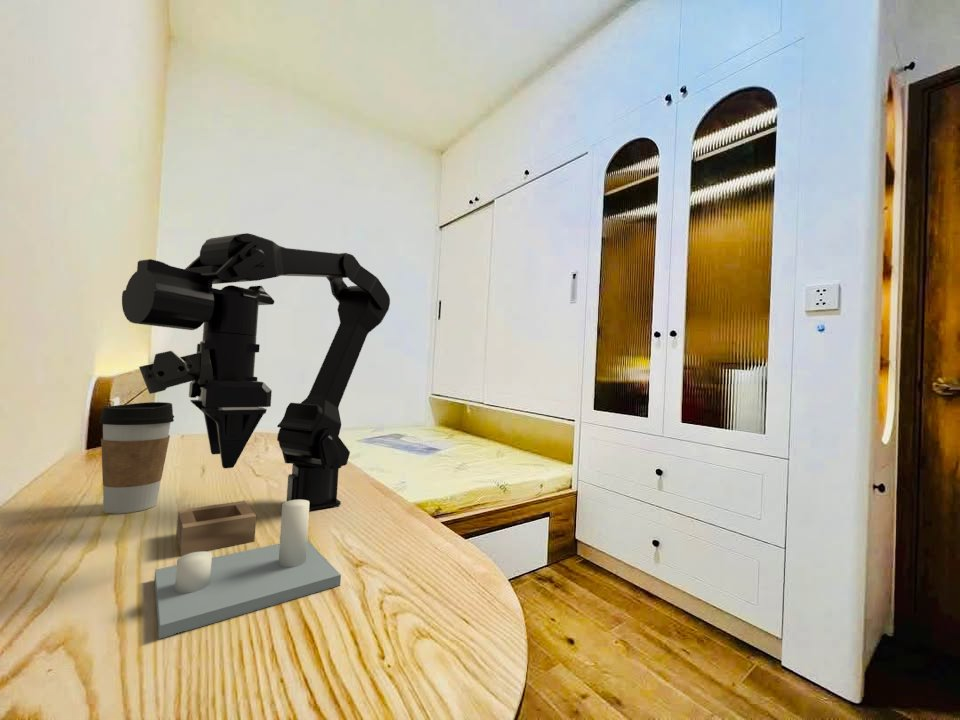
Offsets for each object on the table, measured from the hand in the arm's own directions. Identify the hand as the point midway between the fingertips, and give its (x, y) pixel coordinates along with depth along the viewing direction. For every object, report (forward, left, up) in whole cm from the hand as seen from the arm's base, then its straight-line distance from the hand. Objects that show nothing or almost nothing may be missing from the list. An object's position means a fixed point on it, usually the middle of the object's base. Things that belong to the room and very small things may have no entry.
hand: (221, 460), depth 50 cm
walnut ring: (0, 0, -9) cm, 9 cm away
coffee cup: (+8, -19, -10) cm, 23 cm away
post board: (-1, +14, -9) cm, 17 cm away
